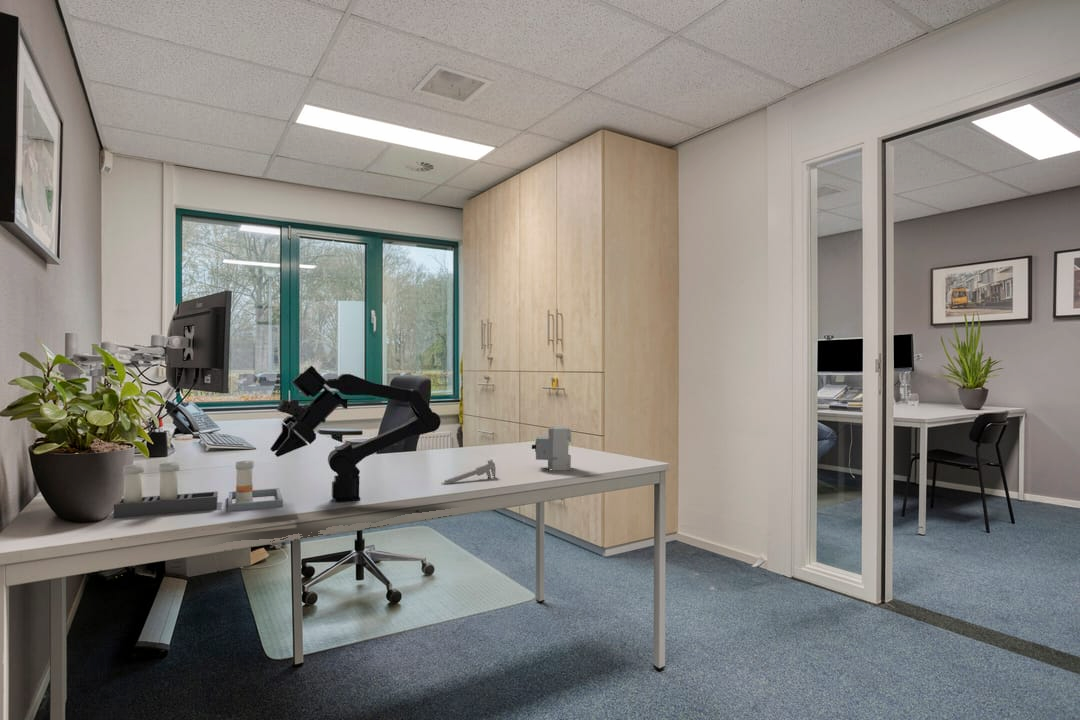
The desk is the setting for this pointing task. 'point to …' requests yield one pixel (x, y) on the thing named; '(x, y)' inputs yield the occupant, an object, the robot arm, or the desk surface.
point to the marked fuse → (244, 481)
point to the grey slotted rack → (167, 505)
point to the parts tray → (259, 503)
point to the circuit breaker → (554, 448)
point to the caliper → (475, 472)
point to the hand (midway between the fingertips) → (273, 453)
